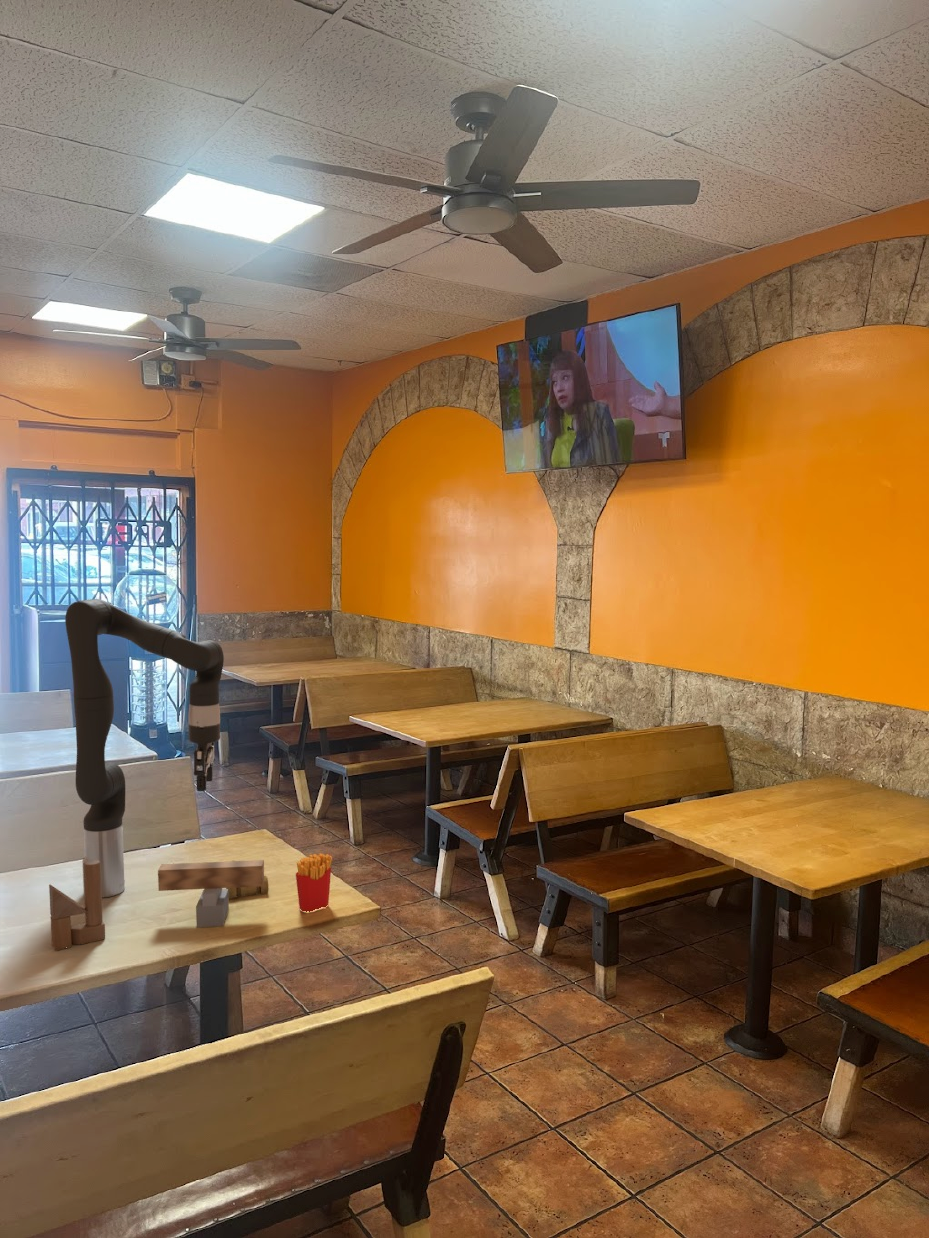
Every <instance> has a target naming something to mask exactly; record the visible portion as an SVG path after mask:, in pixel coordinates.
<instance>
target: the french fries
mask: <svg viewBox="0 0 929 1238" xmlns="http://www.w3.org/2000/svg"><path fill="white" fill-rule="evenodd" d="M332 861H333V856H332V855H329V853H326V854H324V853H321V852H320V853H318V854H316V853H313V854H309V856H308V857H303V858H302V857H301V858H300V861H297V862H296V865H297V867H296V868H297V872H295V880H296V889H297V896H298V897H297V898H298V907H299V910H300V909H301V910H302V911H306V912H307V911H309V912H310V911H313V910H315V909H319V908H321V907H326V906H327V905H328V906H329V903H330V902H329V901H330V886H331V873H332V867H331V864H332Z"/></svg>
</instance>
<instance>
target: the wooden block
mask: <svg viewBox="0 0 929 1238" xmlns="http://www.w3.org/2000/svg"><path fill="white" fill-rule="evenodd" d="M83 870H84V888H83V896H84V895H85V896H84V906H83V905H81V904H80V903H79V902H78V901H76V900H74V899H73V898H71V897H69V895H67V894H65V893H64V892H62V891H61V890H60V889H58V888H56V887H55V886H53V885H51V884H49V885H48V889H49V892H48V893H49V909H50V910H49V912H50V934H51V939H50V941H51V946H52V948H53V950H54V951H55V950H57V951H60V950H59V949H61V950H64V949H63V948H65V949H69V948H71V947H72V945H80V944H81V945H85V944H89V943H92V942H96V941H100V940H105V939H106V925H105V923H104V921H103V898H102V892H101V866H100V861H99V860H89V861H86V862H84V864H83V863H82V871H83ZM80 914H81V915H82V914H85V915H84V916H85V917H84V918H85V922H82V923H78V924H73V925H72V923H71V922H72V921H71V917H73V916H77V915H78V916H79V915H80ZM66 947H67V948H66ZM68 947H69V948H68Z"/></svg>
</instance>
